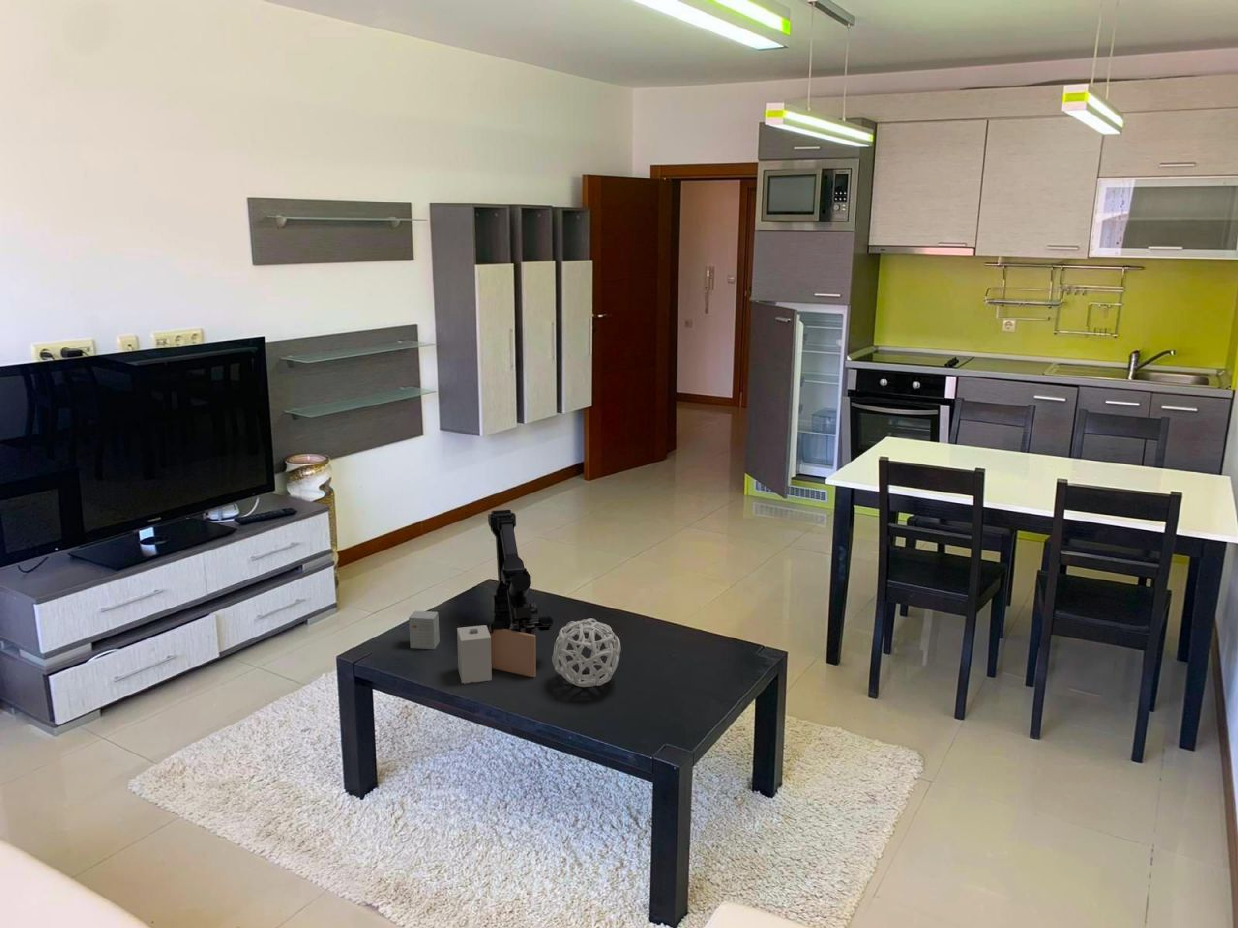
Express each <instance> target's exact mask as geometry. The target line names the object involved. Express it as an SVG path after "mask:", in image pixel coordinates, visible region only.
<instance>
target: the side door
mask: <svg viewBox="0 0 1238 928" xmlns="http://www.w3.org/2000/svg"><path fill="white" fill-rule="evenodd" d="M488 631H489V633H490V626H489V627H488ZM493 631H494V632H493V633H492V634H490V636H491V664H492V669H494V670H499V671H503V672H507V673H512V674H517V675H521V676H527V677H530V678H535V677H536V676H537V675H536V673H537V671H536V665H537V664H536V659H537V658H536V655H537V654H536V652H537V651H536V643H537V642H536V640H537V639H536V634H533V635H532V634H527V633H524V632H523V631H521V632H517V631H512V630H507V629H499V630H493Z"/></svg>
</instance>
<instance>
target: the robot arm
mask: <svg viewBox="0 0 1238 928" xmlns="http://www.w3.org/2000/svg"><path fill="white" fill-rule="evenodd" d="M511 511H512V510H511V509H499V510H498V509H497V510H491V512H490V513H488V515H487V522H488V526H489V528H490V531H491V532H492V533H493V535H494V536H495V543H496V544H495V545H496V560H497V574H498V577H497V578H498V579H497V580H498V582H497V584H496V585H495V588H494V591H493V593H494V595H492V598H491V609H492V612H493V614H494V618H493V619H494V621H491V622H490V624H489V627H490V634H492V633H493V632H494V631H493V630H499V629H507V630H512V631H517V632H522V631H521V630H524V631H523V633H527V634H532V635H534V633H535V631H536V629H537V630H538V631H539V632H548V631H551V630H552V629H553V626H554V618H553V617H552V616H551V615H548V616H547V615H545V616H539V617H538V619H537V620H535V621H534V620H533V619H532V618H533V615H538V613H539V609H538V603H536V602H535V603H534V602H533V603H530V604H529V603H528V597H527V595H528V593H529V590H530V588H531V584H532V581H531V579H532V578H531V577H532V575H531V574H530V573H529V571H528V570H527V568H526V567H525V564H524V561H523V560H524V559H523V560H522V558H520V556H519V553H518V548H517V541H516V536H515V527H516V526H517V514H515V513H514V512H511ZM531 620H533V621H531Z"/></svg>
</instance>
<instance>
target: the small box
mask: <svg viewBox="0 0 1238 928" xmlns="http://www.w3.org/2000/svg"><path fill="white" fill-rule="evenodd" d="M439 618H440V617H439V611H430V610H429V611H427V610H426V611H425V610H414V611H413V612H412V613H411V615H410V616H409V617H408V621H409V624H408V625H409V641H410V648H411V649H423V650H424V649H425V650H436V648H437V647H438V645H439V644H440V641H441V640H440V637H441V635H440V622H439V621H440V620H439Z"/></svg>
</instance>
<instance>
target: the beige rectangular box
mask: <svg viewBox="0 0 1238 928" xmlns="http://www.w3.org/2000/svg"><path fill="white" fill-rule="evenodd" d="M456 631H457V633H456V634H457V635H456V636H457V667H458V668H457V670H458V673H459V677H460V682H461V684H462V683H464V684H470V683H471V682H473V683H479V682H487V681H488V682H489V681H492V679H493V677H492V675H493V673H492V670H493V668H492V664H491V636H490V633H489V627H488V626H487V624H486V625H485V624H484V625H483V624H482V625H473V626H464V627H457V628H456ZM471 684H472V683H471Z"/></svg>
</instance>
